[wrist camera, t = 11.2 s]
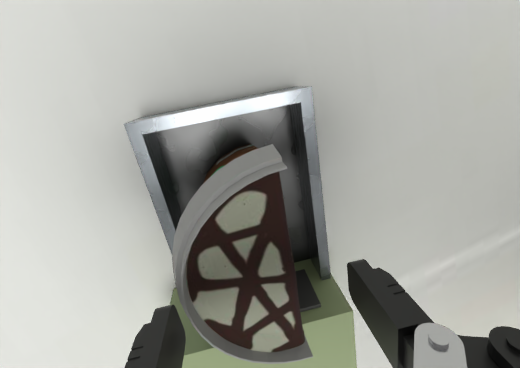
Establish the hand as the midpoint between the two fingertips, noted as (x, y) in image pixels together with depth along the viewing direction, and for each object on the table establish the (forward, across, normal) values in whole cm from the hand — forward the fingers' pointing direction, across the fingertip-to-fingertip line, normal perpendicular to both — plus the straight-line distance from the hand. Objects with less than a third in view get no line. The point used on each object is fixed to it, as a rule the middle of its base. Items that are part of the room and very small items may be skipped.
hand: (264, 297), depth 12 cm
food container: (+10, +2, 0) cm, 11 cm away
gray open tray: (+11, 0, 0) cm, 11 cm away
